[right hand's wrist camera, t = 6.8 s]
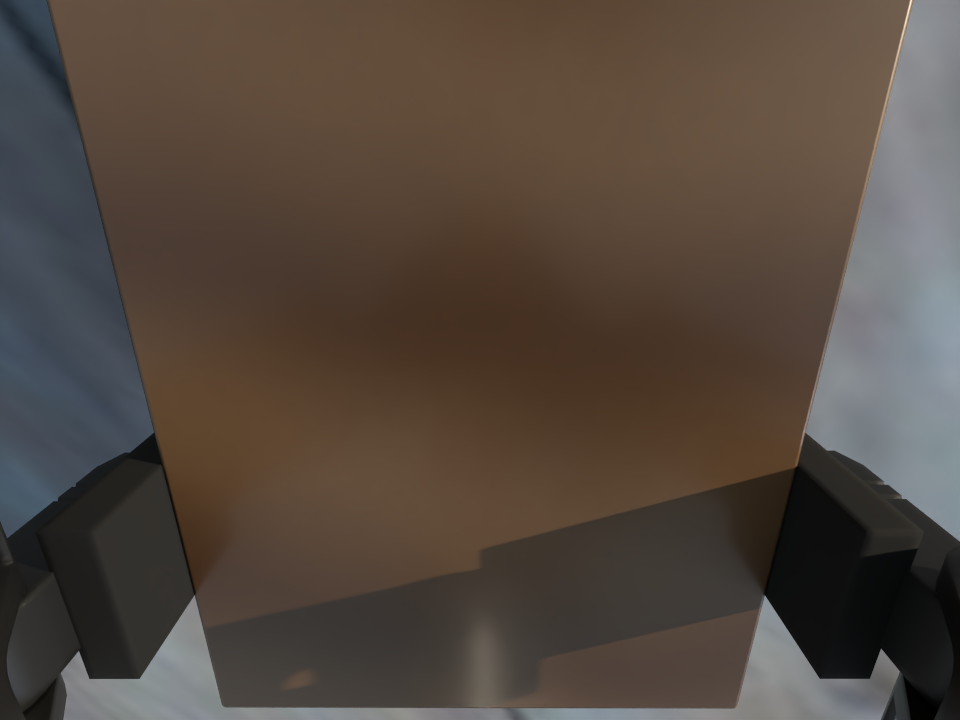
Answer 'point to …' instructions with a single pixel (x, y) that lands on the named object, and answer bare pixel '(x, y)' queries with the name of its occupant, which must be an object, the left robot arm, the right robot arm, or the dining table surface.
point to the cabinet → (479, 323)
